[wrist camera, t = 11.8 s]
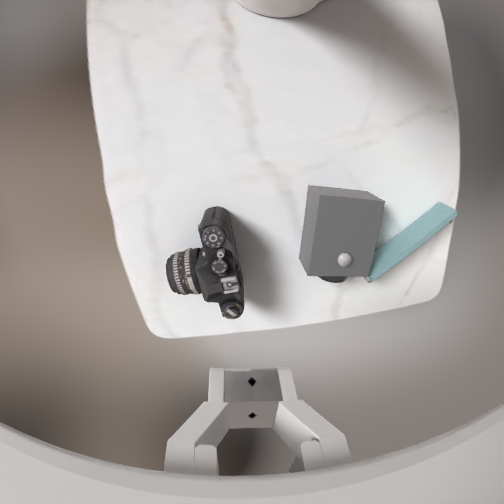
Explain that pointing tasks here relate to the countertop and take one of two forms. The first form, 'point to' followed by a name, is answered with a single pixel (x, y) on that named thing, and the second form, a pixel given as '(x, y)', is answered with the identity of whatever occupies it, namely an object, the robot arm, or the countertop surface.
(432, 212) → the side door
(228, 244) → the camera
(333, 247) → the camera housing
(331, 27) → the countertop surface
